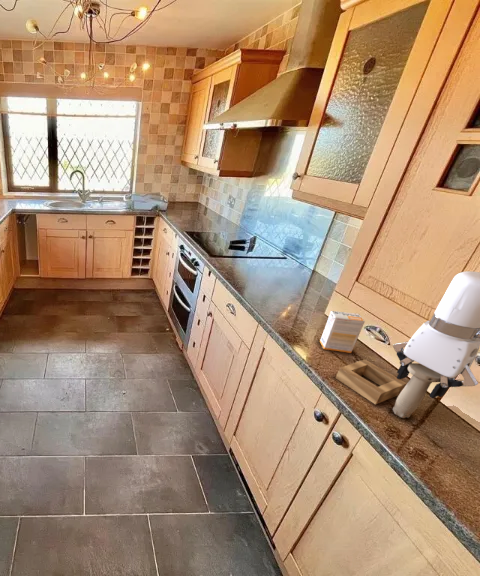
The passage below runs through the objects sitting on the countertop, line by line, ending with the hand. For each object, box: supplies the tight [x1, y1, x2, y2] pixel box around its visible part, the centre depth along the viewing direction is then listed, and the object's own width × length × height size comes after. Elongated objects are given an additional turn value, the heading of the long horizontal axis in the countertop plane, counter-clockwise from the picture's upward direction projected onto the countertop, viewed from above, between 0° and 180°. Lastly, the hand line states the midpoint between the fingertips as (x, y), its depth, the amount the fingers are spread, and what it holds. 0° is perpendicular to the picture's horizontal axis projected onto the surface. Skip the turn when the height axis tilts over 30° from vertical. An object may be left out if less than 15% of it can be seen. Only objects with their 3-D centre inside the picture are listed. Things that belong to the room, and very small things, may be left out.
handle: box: [392, 362, 440, 419], centre depth 78 cm, size 5×6×15 cm
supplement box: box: [319, 310, 366, 354], centre depth 104 cm, size 8×5×13 cm, turn 72°
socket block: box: [335, 359, 408, 405], centre depth 89 cm, size 11×11×4 cm
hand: (417, 385), depth 76 cm, fingers closed on handle, 6 cm apart
